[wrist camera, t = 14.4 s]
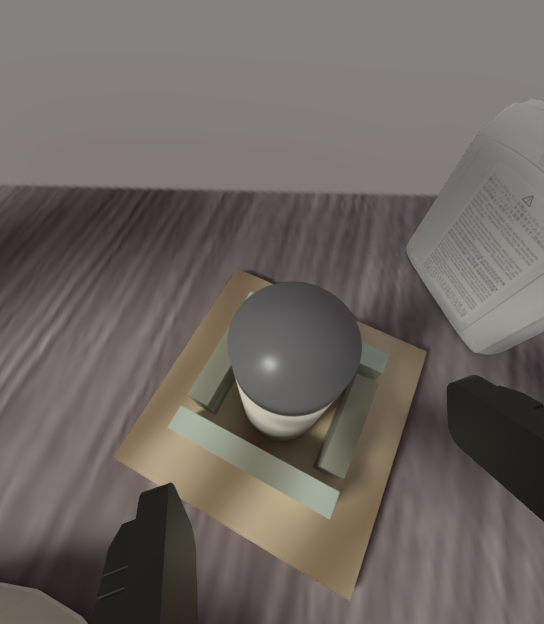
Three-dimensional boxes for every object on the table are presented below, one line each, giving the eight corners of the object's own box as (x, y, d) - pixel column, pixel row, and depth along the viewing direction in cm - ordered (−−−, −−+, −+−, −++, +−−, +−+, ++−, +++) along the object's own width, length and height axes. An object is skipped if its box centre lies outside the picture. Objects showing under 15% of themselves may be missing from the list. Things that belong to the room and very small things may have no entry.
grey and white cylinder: (230, 418, 19) (201, 366, 10) (266, 354, 21) (266, 263, 12) (298, 456, 18) (330, 434, 10) (329, 386, 20) (380, 314, 11)
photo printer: (525, 345, 23) (770, 222, 12) (473, 366, 22) (682, 256, 11) (440, 233, 27) (562, 64, 16) (394, 248, 26) (489, 82, 15)
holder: (119, 458, 19) (86, 454, 16) (237, 275, 25) (233, 242, 21) (345, 594, 17) (367, 627, 13) (420, 356, 22) (450, 333, 19)
